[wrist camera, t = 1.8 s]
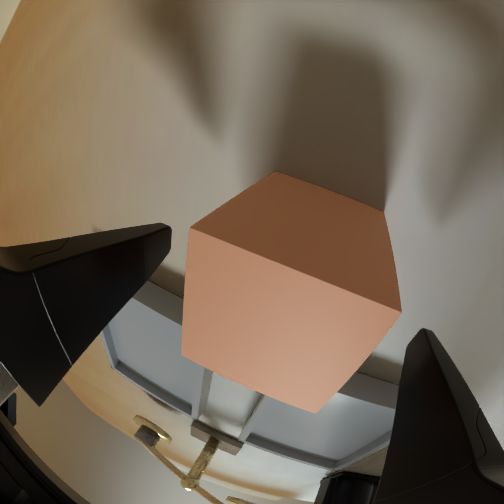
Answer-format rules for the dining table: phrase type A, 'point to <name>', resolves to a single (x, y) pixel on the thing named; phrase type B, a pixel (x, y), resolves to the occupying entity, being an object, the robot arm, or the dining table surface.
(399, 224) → the dining table surface
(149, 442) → the balance
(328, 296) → the block
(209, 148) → the dining table surface
